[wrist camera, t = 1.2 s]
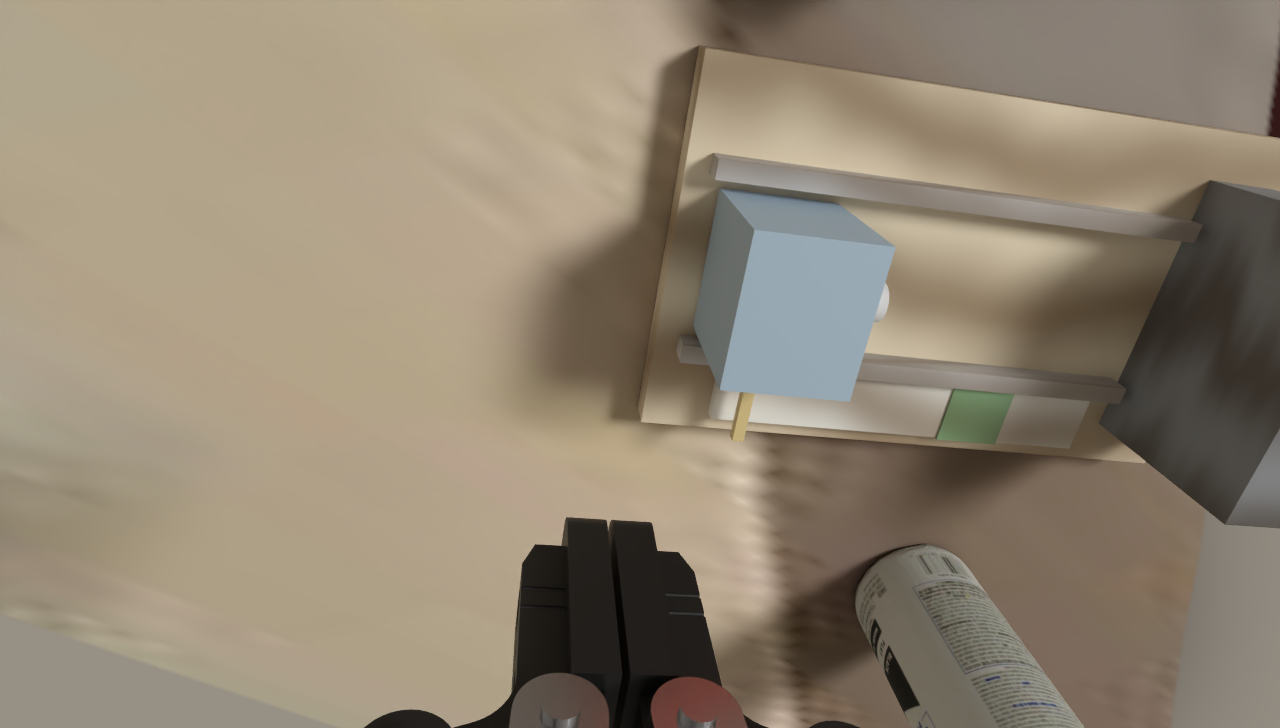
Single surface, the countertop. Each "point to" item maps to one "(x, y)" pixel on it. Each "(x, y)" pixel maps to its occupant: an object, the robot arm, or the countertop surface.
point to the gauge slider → (788, 298)
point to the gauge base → (1005, 273)
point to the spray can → (952, 647)
